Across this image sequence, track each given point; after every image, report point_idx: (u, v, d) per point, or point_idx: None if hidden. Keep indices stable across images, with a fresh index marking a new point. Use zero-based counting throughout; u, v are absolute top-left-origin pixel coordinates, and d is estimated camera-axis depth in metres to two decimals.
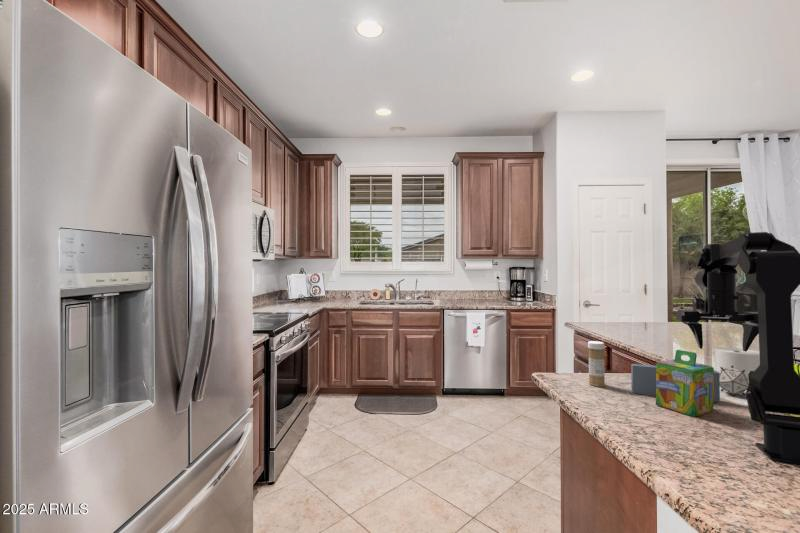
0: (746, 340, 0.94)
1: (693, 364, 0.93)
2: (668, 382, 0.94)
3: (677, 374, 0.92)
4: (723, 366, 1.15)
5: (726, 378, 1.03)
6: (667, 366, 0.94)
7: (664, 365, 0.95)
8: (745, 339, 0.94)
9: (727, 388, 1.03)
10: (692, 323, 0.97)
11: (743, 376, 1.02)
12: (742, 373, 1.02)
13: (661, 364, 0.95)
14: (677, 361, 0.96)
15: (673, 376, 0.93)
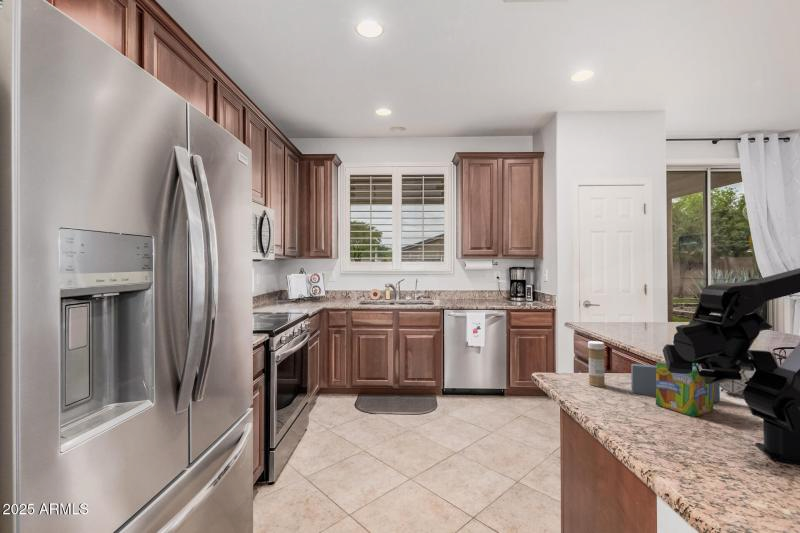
0: None
1: (693, 364, 0.93)
2: (668, 382, 0.94)
3: (677, 374, 0.92)
4: None
5: None
6: None
7: (664, 365, 0.95)
8: None
9: (727, 388, 1.03)
10: (705, 374, 0.78)
11: (743, 376, 1.02)
12: (742, 373, 1.02)
13: (661, 364, 0.95)
14: None
15: (673, 376, 0.93)
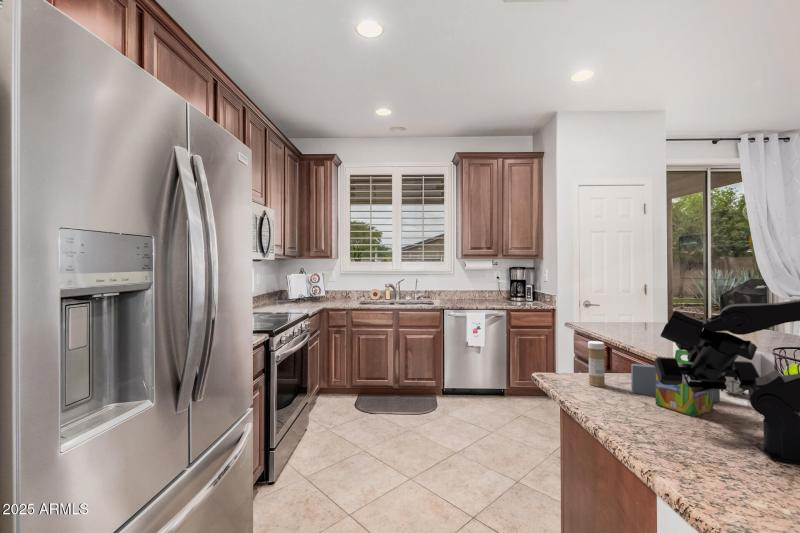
0: None
1: None
2: None
3: None
4: None
5: None
6: None
7: None
8: None
9: (727, 388, 1.03)
10: (693, 385, 0.83)
11: None
12: None
13: None
14: (677, 361, 0.96)
15: None
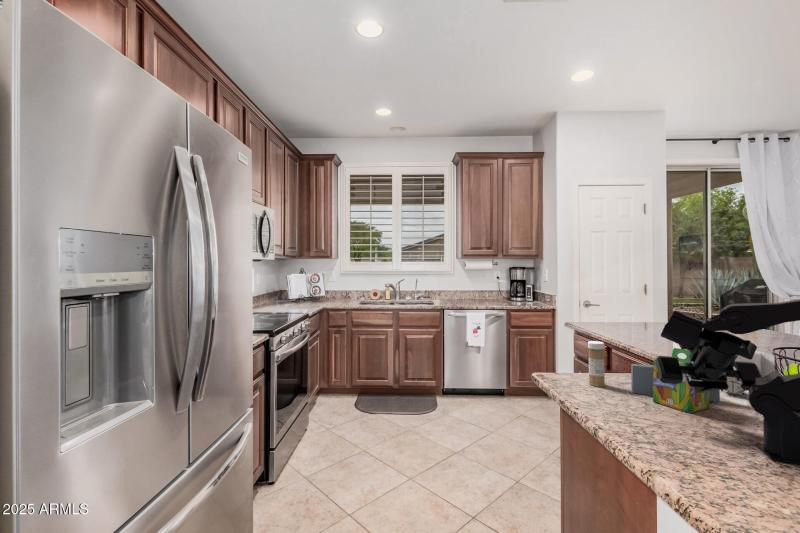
0: None
1: (689, 362, 0.95)
2: None
3: None
4: None
5: None
6: None
7: None
8: None
9: None
10: (694, 384, 0.83)
11: None
12: None
13: None
14: None
15: None
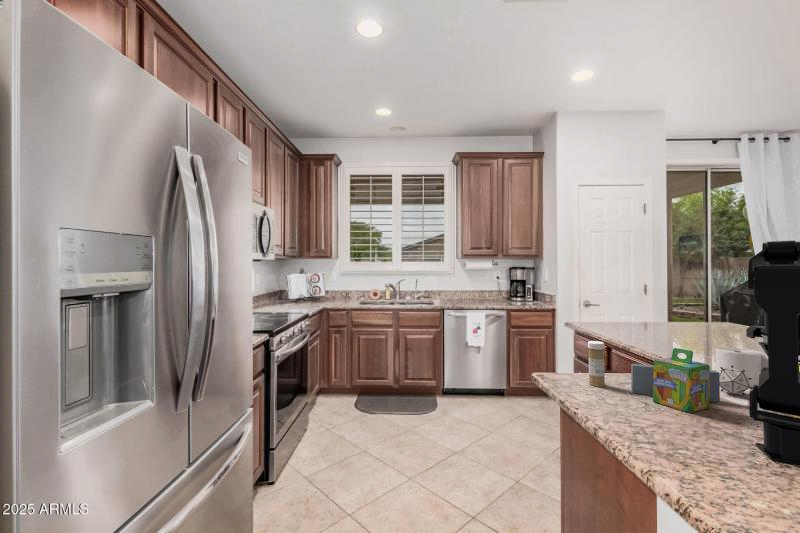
0: None
1: (689, 362, 0.95)
2: (665, 379, 0.96)
3: (674, 371, 0.94)
4: (724, 366, 1.15)
5: (726, 378, 1.03)
6: (664, 364, 0.96)
7: (661, 363, 0.97)
8: None
9: (727, 388, 1.03)
10: (762, 342, 0.84)
11: (743, 376, 1.02)
12: (742, 373, 1.02)
13: (658, 362, 0.98)
14: (674, 359, 0.98)
15: (669, 373, 0.95)
